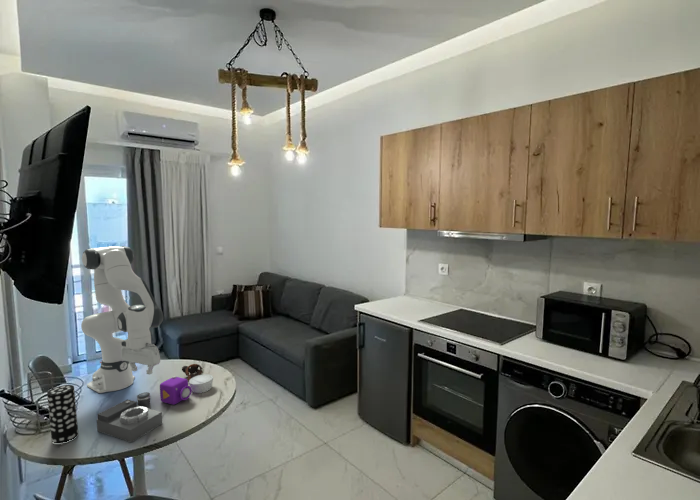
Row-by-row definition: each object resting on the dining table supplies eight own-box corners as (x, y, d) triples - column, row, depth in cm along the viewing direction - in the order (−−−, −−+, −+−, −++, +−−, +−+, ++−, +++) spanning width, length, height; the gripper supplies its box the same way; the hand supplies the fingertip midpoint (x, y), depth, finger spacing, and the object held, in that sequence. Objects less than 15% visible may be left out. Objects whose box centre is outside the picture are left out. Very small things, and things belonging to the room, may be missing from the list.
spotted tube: (48, 447, 141) (43, 396, 139) (55, 435, 149) (51, 387, 147) (75, 441, 145) (70, 392, 143) (80, 430, 152) (76, 383, 150)
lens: (135, 411, 166) (134, 396, 166) (145, 406, 171) (144, 391, 170) (143, 413, 164) (142, 398, 164) (153, 408, 169) (152, 393, 168)
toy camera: (183, 407, 169) (182, 386, 168) (157, 404, 172) (155, 384, 171) (197, 396, 180) (196, 376, 179) (172, 393, 183) (171, 374, 182)
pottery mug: (206, 373, 206) (206, 364, 201) (197, 388, 198) (196, 378, 193) (186, 367, 207) (185, 358, 202) (176, 381, 199) (175, 372, 194)
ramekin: (185, 394, 181) (185, 384, 181) (194, 384, 192) (194, 374, 192) (209, 394, 182) (208, 383, 181) (216, 383, 193) (216, 373, 192)
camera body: (97, 431, 151) (96, 413, 151) (129, 413, 164) (128, 397, 163) (131, 442, 144) (130, 423, 143) (162, 423, 156) (161, 406, 156)
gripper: (162, 342, 163) (165, 372, 165) (130, 337, 171) (132, 366, 173) (150, 347, 157) (152, 378, 159) (117, 341, 165) (119, 371, 167)
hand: (142, 372), depth 166 cm, fingers open, 8 cm apart
